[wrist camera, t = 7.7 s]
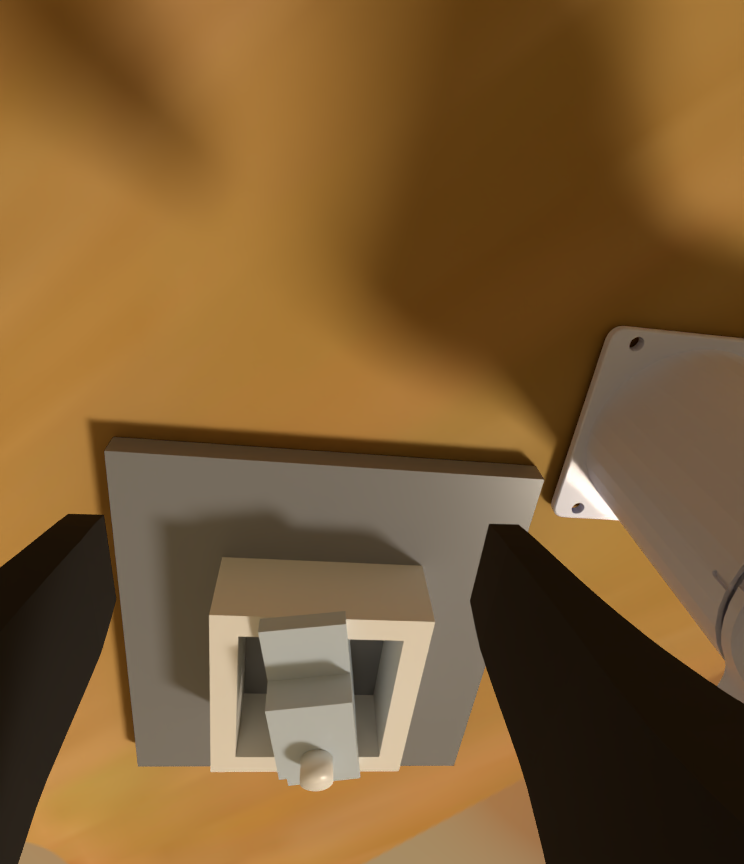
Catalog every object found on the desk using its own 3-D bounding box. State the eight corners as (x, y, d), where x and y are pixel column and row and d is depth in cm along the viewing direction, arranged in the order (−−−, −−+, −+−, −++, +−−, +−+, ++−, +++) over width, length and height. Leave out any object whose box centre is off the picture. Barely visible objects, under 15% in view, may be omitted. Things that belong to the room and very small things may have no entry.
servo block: (342, 554, 23) (348, 673, 18) (355, 701, 27) (363, 829, 22) (266, 561, 23) (251, 682, 18) (292, 708, 27) (285, 838, 22)
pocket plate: (535, 465, 23) (575, 528, 19) (450, 747, 31) (466, 826, 27) (113, 436, 21) (70, 501, 17) (143, 747, 29) (119, 832, 25)
